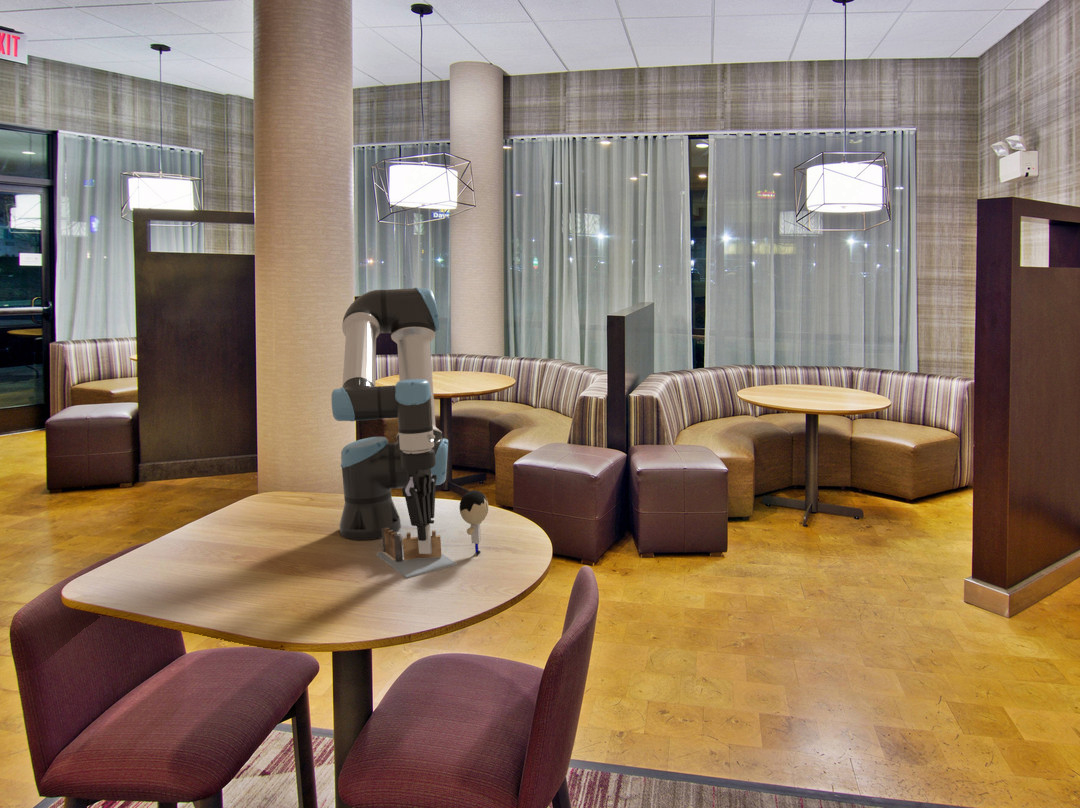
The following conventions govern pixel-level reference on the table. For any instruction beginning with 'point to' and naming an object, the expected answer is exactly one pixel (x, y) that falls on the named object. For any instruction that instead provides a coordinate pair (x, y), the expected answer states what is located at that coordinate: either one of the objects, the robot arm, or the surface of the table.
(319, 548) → the table surface
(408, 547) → the notched wooden bar
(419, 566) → the card
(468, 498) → the toy
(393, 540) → the fence fixed
